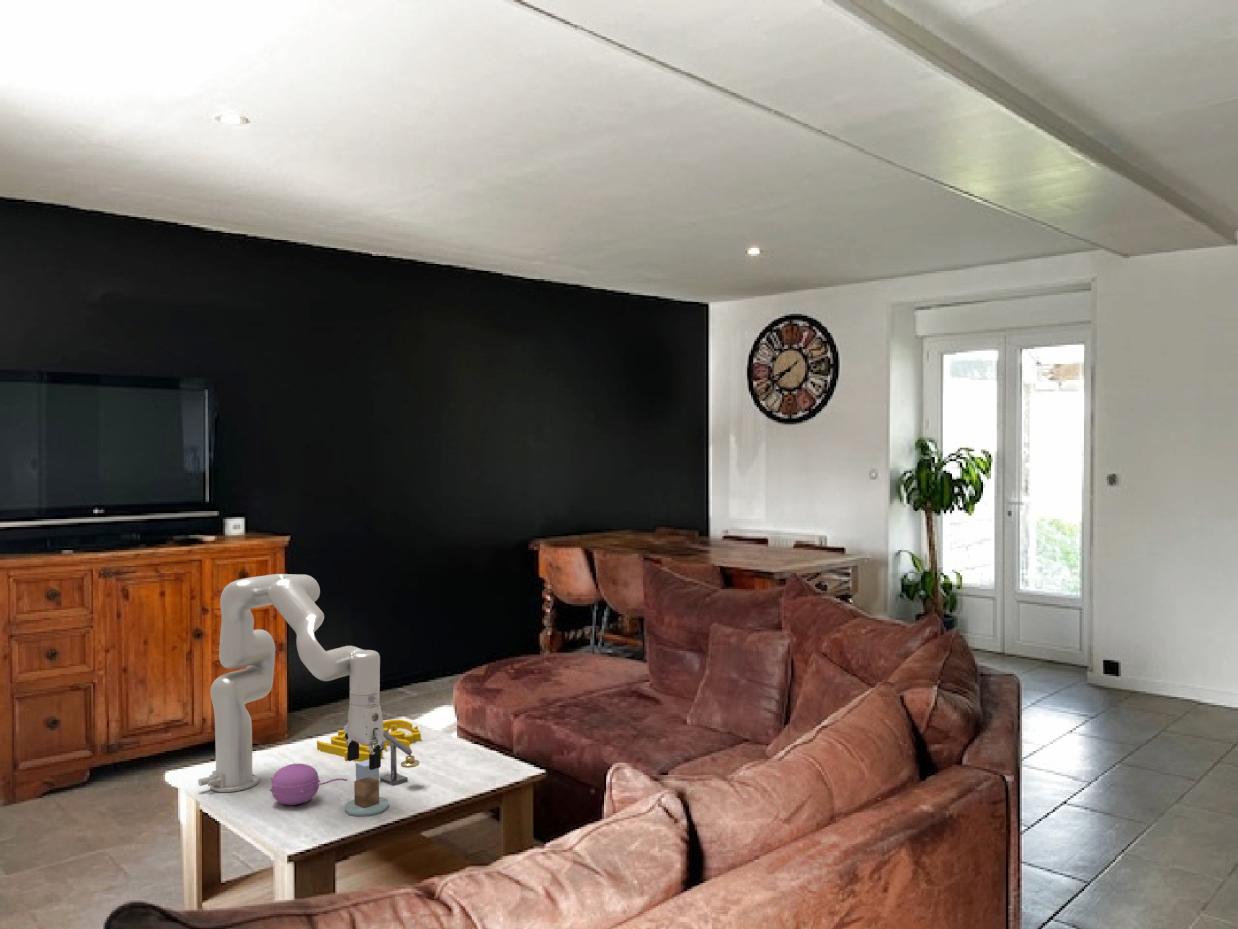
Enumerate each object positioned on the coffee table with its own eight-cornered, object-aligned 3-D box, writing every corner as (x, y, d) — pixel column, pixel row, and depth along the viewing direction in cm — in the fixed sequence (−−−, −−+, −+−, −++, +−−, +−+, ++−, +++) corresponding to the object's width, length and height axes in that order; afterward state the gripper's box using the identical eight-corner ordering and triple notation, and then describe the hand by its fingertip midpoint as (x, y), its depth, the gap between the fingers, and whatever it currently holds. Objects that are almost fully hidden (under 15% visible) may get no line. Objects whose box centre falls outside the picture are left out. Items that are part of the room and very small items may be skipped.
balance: (408, 791, 255) (407, 740, 255) (365, 776, 268) (364, 727, 268) (423, 786, 259) (422, 736, 259) (380, 771, 272) (379, 723, 272)
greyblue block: (365, 788, 258) (364, 766, 258) (355, 784, 261) (355, 763, 261) (379, 783, 262) (378, 762, 262) (369, 780, 265) (369, 759, 265)
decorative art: (387, 716, 323) (446, 730, 304) (387, 724, 323) (447, 739, 304) (301, 740, 296) (361, 757, 277) (302, 749, 296) (361, 767, 277)
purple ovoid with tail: (287, 793, 255) (286, 757, 255) (349, 798, 251) (349, 760, 251) (261, 809, 243) (261, 771, 243) (326, 814, 239) (326, 775, 239)
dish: (360, 820, 235) (360, 815, 235) (336, 809, 242) (336, 805, 242) (397, 807, 243) (397, 802, 243) (372, 797, 251) (372, 793, 251)
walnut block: (364, 808, 240) (363, 785, 240) (354, 804, 243) (354, 781, 243) (379, 803, 243) (378, 780, 243) (369, 799, 246) (369, 776, 246)
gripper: (396, 702, 240) (395, 768, 240) (358, 690, 251) (357, 753, 252) (371, 708, 234) (370, 776, 235) (333, 695, 246) (332, 760, 246)
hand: (363, 764), depth 243 cm, fingers open, 9 cm apart
